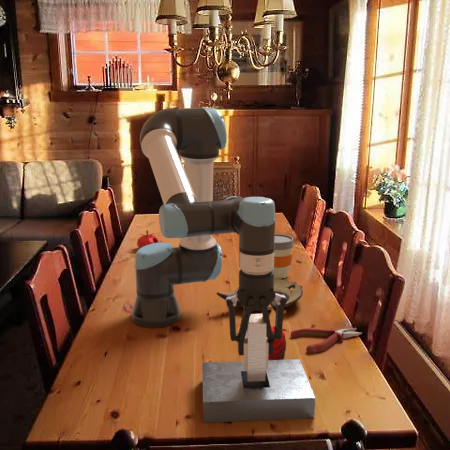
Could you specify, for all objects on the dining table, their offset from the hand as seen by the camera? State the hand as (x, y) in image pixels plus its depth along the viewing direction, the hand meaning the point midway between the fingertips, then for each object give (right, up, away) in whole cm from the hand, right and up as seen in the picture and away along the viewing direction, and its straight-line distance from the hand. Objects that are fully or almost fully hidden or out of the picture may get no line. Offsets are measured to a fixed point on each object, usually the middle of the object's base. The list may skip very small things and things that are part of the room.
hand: (255, 366), depth 112 cm
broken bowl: (+5, +5, +54) cm, 54 cm away
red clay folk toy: (+6, -4, +20) cm, 21 cm away
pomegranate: (-42, +20, +112) cm, 121 cm away
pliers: (+23, -2, +28) cm, 36 cm away
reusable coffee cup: (+13, +12, +80) cm, 82 cm away
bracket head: (0, -8, +2) cm, 8 cm away
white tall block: (0, -2, 0) cm, 2 cm away
